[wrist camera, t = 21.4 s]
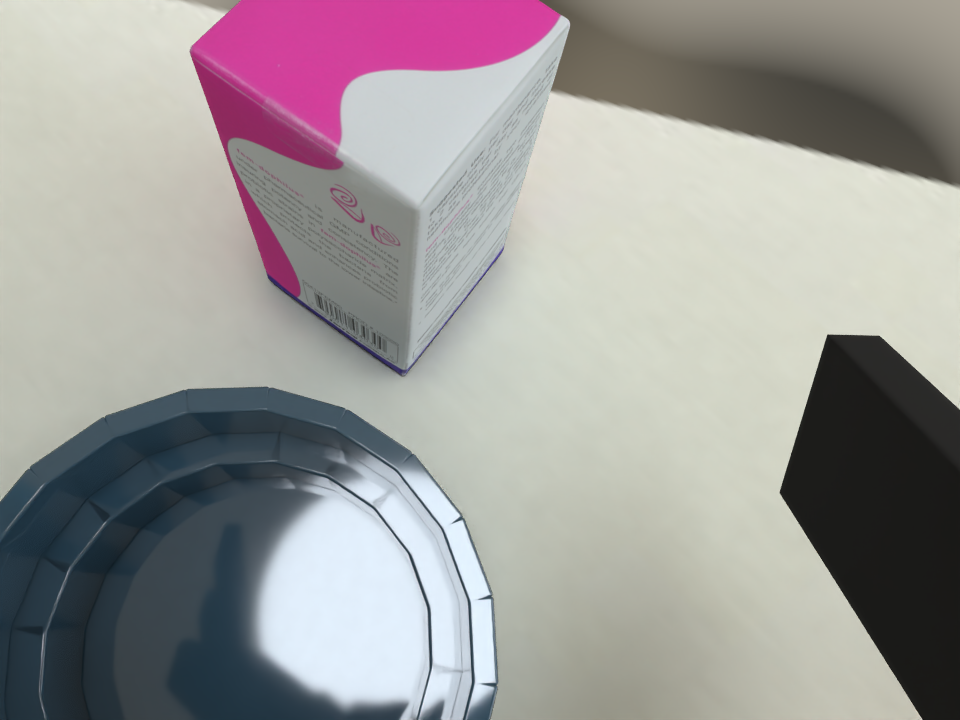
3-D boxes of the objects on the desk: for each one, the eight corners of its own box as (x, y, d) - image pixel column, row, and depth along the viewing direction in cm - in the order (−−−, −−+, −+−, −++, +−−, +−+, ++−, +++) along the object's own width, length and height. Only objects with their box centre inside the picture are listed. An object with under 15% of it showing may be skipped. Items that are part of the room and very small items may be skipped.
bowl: (-38, 818, 22) (-191, 895, 16) (135, 388, 25) (60, 327, 20) (406, 936, 22) (411, 1054, 16) (516, 495, 26) (551, 465, 20)
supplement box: (509, 245, 28) (584, 19, 17) (404, 381, 26) (412, 226, 15) (372, 150, 29) (359, -130, 18) (260, 277, 27) (169, 55, 16)
